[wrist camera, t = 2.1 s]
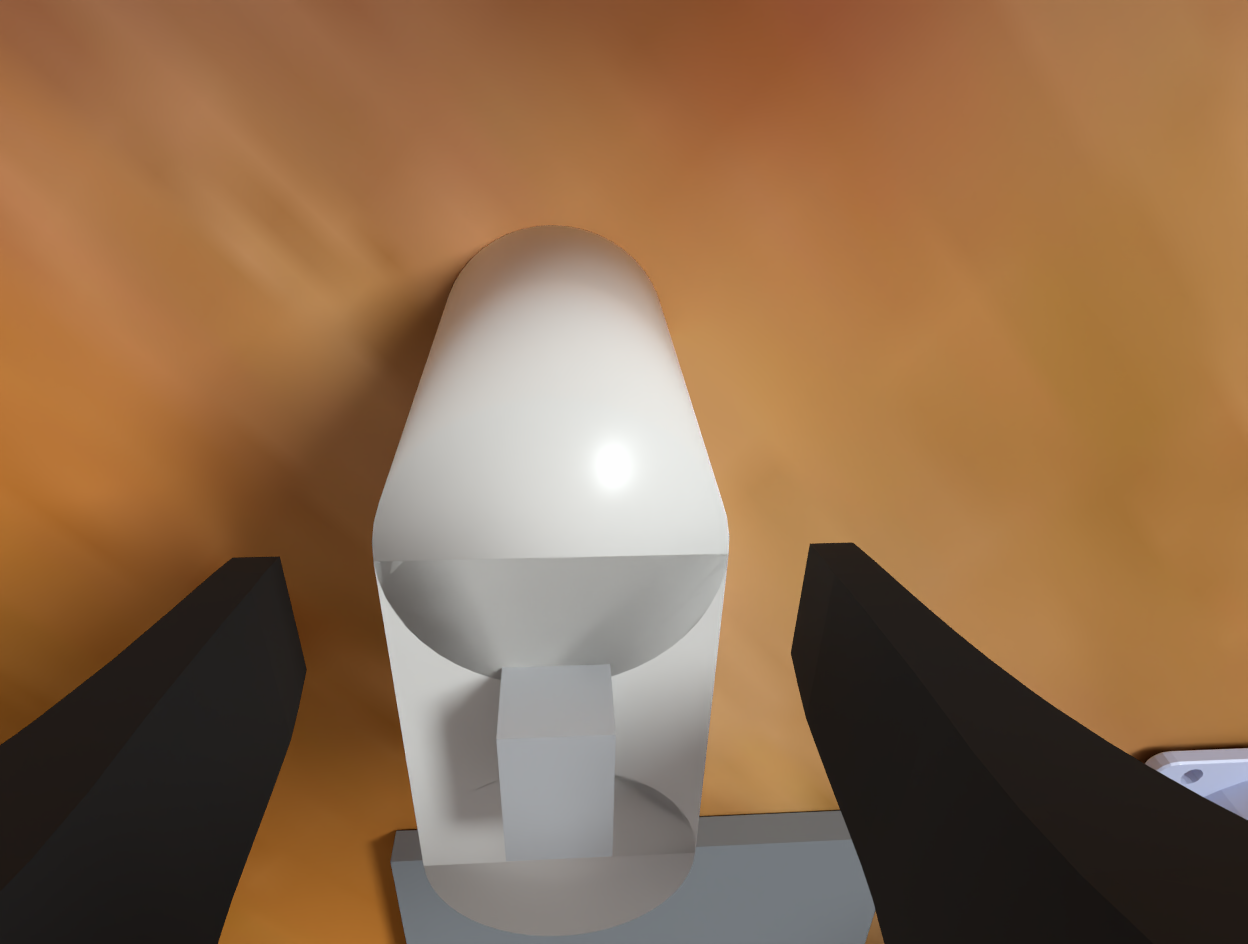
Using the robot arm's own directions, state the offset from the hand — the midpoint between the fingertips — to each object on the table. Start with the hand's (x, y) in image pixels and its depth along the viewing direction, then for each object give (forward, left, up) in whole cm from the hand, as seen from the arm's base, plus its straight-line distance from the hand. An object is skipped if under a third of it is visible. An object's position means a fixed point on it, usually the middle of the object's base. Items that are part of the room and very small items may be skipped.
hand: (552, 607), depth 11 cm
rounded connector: (0, 0, -4) cm, 4 cm away
